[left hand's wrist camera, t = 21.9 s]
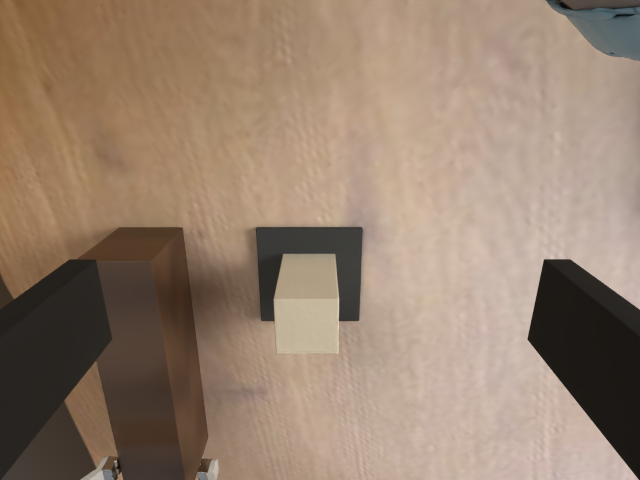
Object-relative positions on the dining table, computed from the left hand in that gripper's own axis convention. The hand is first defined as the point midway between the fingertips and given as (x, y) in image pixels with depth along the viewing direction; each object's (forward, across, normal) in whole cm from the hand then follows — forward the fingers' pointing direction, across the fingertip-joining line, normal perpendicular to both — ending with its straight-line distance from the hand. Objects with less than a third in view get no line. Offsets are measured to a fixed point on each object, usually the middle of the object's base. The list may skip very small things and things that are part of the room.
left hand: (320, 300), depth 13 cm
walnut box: (+27, -16, -20) cm, 37 cm away
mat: (+27, -1, -12) cm, 29 cm away
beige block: (+26, -1, -12) cm, 29 cm away
